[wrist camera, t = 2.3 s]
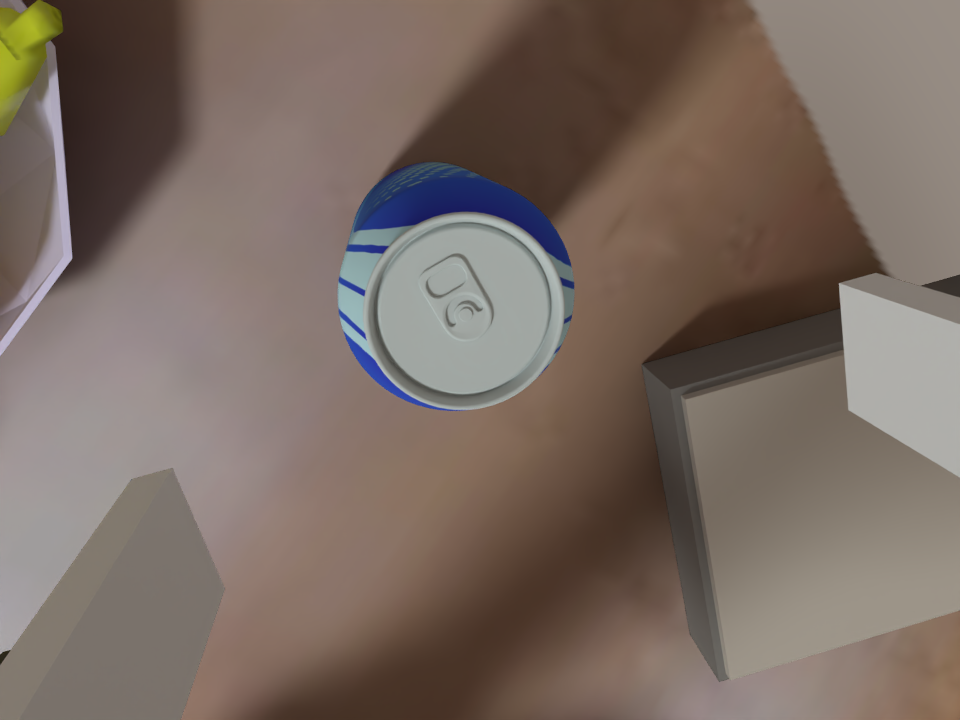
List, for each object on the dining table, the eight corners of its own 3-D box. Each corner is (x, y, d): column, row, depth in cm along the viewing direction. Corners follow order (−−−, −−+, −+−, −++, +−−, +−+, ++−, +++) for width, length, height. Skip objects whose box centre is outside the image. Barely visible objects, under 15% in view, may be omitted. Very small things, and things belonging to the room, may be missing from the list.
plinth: (690, 634, 48) (723, 689, 44) (641, 364, 42) (674, 393, 37) (965, 551, 49) (1027, 596, 45) (959, 274, 43) (1031, 292, 38)
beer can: (523, 177, 38) (619, 208, 23) (493, 329, 40) (562, 449, 25) (363, 146, 36) (352, 158, 21) (342, 306, 39) (317, 420, 24)
